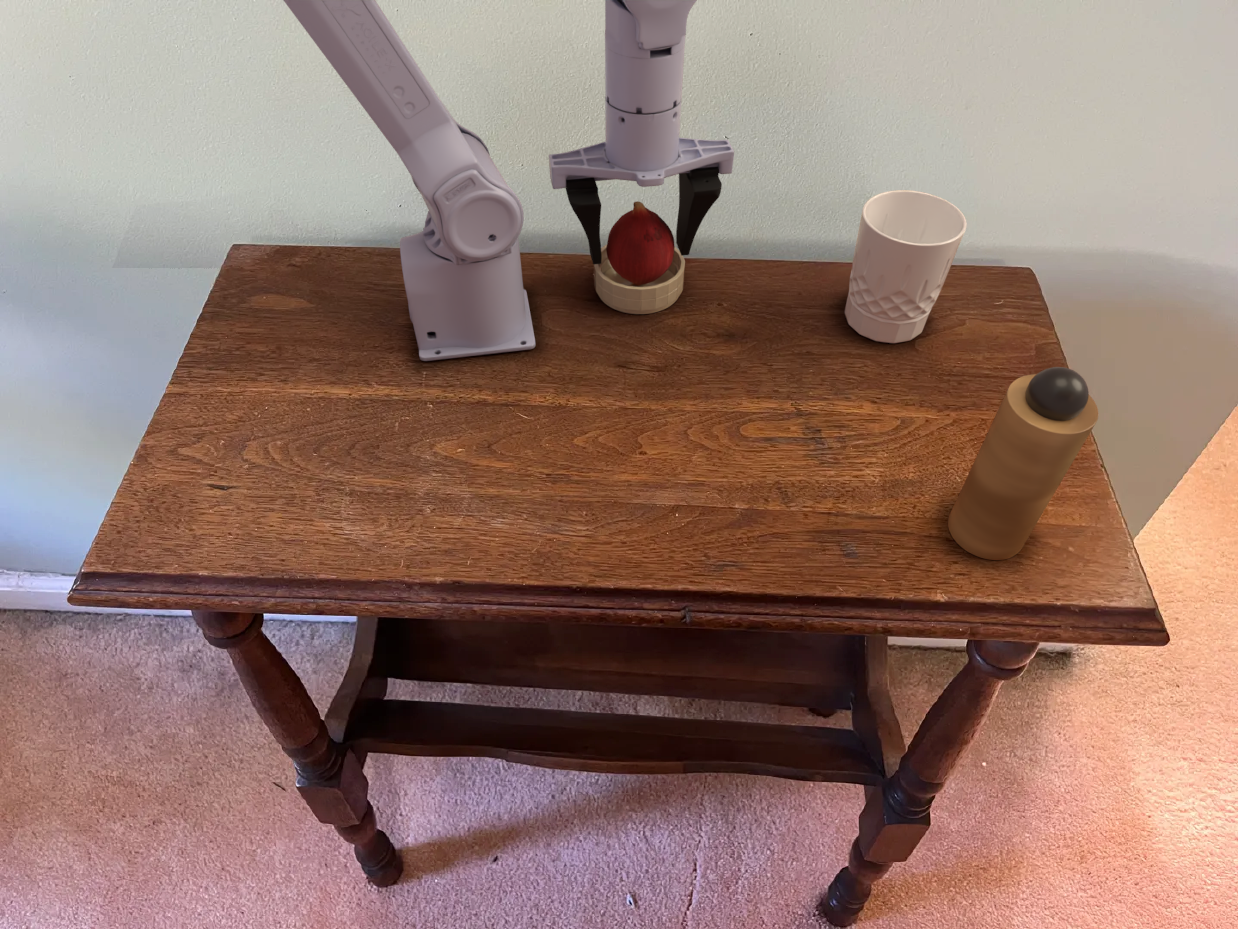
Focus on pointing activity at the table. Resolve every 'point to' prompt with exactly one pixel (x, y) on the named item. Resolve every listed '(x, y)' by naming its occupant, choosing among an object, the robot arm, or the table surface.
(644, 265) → the onion
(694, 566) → the table surface
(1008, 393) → the pepper mill
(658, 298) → the bowl
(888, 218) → the white cup
